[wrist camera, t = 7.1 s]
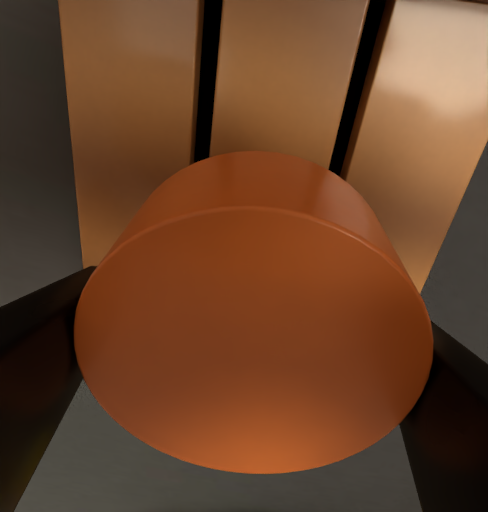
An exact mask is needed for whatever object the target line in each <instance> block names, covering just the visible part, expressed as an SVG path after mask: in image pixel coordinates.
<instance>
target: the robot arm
mask: <svg viewBox="0 0 488 512" xmlns="http://www.w3.org/2000/svg"><path fill="white" fill-rule="evenodd" d="M96 268H97V266H89V267H87V268H85V269H83V270H80V271H78V272H76V273H74V274H72V275H69V276H67V277H65V278H63V279H61V280H59V281H56V282H54V283H52V284H50V285H48V286H45V287H43V288H41V289H39V290H37V291H35V292H32V293H30V294H28V295H26V296H24V297H21V298H19V299H17V300H15V301H13V302H10V303H8V304H6V305H4V306H2V307H0V512H14V510H15V508H16V506H17V504H18V502H19V500H20V498H21V497H22V495H23V493H24V491H25V489H26V487H27V485H28V483H29V481H30V479H31V477H32V475H33V474H34V472H35V470H36V468H37V466H38V464H39V462H40V460H41V458H42V456H43V454H44V452H45V451H46V449H47V447H48V445H49V443H50V441H51V439H52V437H53V435H54V433H55V431H56V429H57V428H58V426H59V424H60V422H61V420H62V418H63V416H64V414H65V412H66V410H67V408H68V406H69V405H70V403H71V401H72V399H73V397H74V395H75V393H76V391H77V389H78V387H79V385H80V383H81V382H82V380H83V376H82V373H81V371H80V368H79V365H78V362H77V358H76V353H75V348H74V320H75V313H76V308H77V305H78V302H79V299H80V296H81V293H82V291H83V289H84V287H85V285H86V283H87V282H88V280H89V278H90V276H91V274H92V273H93V272H94V270H95V269H96ZM431 327H432V334H433V360H432V365H431V369H430V373H429V378H428V380H427V383H426V385H425V387H424V390H423V392H422V394H421V396H420V398H419V399H418V401H417V402H416V404H415V405H414V407H413V409H412V410H411V411H410V412H409V413H408V415H407V416H406V417H405V418H404V419H403V420H402V422H401V423H400V424H399V425H400V429H401V432H402V436H403V440H404V444H405V447H406V451H407V455H408V459H409V463H410V466H411V470H412V474H413V478H414V481H415V485H416V489H417V493H418V496H419V500H420V504H421V508H422V512H488V364H487V363H486V362H484V361H483V360H482V359H480V358H479V357H478V356H476V355H475V354H474V353H472V352H471V351H470V350H468V349H467V348H466V347H465V346H463V345H462V344H461V343H459V342H458V341H457V340H455V339H454V338H453V337H451V336H450V335H449V334H447V333H446V332H445V331H444V330H442V329H441V328H440V327H438V326H437V325H436V324H434V323H433V322H432V321H431Z"/></svg>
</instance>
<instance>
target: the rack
mask: <svg viewBox="0 0 488 512" xmlns="http://www.w3.org/2000/svg"><path fill="white" fill-rule="evenodd" d="M370 1H376V2H383V3H385V7H384V10H383V14H382V18H381V22H380V26H379V29H378V33H377V37H376V41H375V44H374V48H373V52H372V56H371V60H370V63H369V67H368V71H367V75H366V79H365V82H364V86H363V90H362V94H361V98H360V101H359V105H358V109H357V113H356V117H355V120H354V124H353V128H352V132H351V136H350V139H349V143H348V147H347V151H346V154H345V158H344V162H343V166H342V170H341V173H340V178H342V179H343V180H344V181H346V182H347V183H349V184H350V185H351V186H352V187H353V188H354V189H355V190H356V191H357V192H358V193H359V194H360V195H361V196H362V197H363V198H364V200H365V201H366V202H367V203H368V205H369V206H370V207H371V209H372V210H373V212H374V213H375V215H376V217H377V219H378V221H379V222H380V224H381V226H382V228H383V229H384V231H385V233H386V235H387V237H388V238H389V240H390V242H391V244H392V245H393V247H394V249H395V251H396V253H397V254H398V256H399V258H400V260H401V262H402V263H403V265H404V267H405V269H406V270H407V272H408V274H409V276H410V278H411V279H412V281H413V283H414V285H415V287H416V288H417V290H418V292H419V294H420V292H421V290H422V288H423V286H424V283H425V281H426V279H427V276H428V274H429V272H430V270H431V267H432V265H433V263H434V261H435V258H436V256H437V254H438V252H439V249H440V247H441V245H442V243H443V240H444V238H445V236H446V233H447V231H448V229H449V227H450V224H451V222H452V220H453V218H454V215H455V213H456V211H457V209H458V206H459V204H460V202H461V200H462V197H463V195H464V193H465V190H466V188H467V186H468V184H469V181H470V179H471V177H472V175H473V172H474V170H475V168H476V166H477V163H478V161H479V159H480V157H481V154H482V152H483V150H484V147H485V145H486V143H487V141H488V0H223V2H222V14H221V26H220V37H219V49H218V61H217V73H216V84H215V96H214V108H213V120H212V131H211V143H210V155H209V158H210V157H213V156H216V155H222V154H227V153H232V152H242V151H266V152H277V153H282V154H287V155H292V156H296V157H299V158H302V159H305V160H308V161H310V162H313V163H316V164H318V165H320V166H322V167H324V168H326V169H327V170H328V169H329V165H330V161H331V157H332V153H333V149H334V145H335V141H336V137H337V133H338V129H339V124H340V120H341V116H342V112H343V108H344V104H345V100H346V96H347V92H348V88H349V84H350V80H351V76H352V72H353V68H354V64H355V59H356V55H357V51H358V47H359V43H360V39H361V35H362V31H363V27H364V23H365V19H366V15H367V11H368V7H369V3H370ZM204 2H205V0H58V6H59V16H60V27H61V37H62V48H63V59H64V69H65V80H66V90H67V101H68V112H69V122H70V133H71V143H72V154H73V165H74V175H75V186H76V196H77V207H78V217H79V228H80V239H81V249H82V260H83V269H85V268H87V267H89V266H98V265H99V263H100V262H101V261H102V259H103V258H104V257H105V255H106V254H107V253H108V251H109V250H110V248H111V247H112V246H113V244H114V243H115V242H116V240H117V239H118V238H119V236H120V235H121V233H122V232H123V231H124V229H125V228H126V227H127V225H128V224H129V223H130V221H131V220H132V218H133V217H134V216H135V214H136V213H137V212H138V210H139V209H140V208H141V206H142V205H143V204H144V202H145V201H146V200H147V199H148V197H149V196H150V195H151V194H152V192H153V191H154V190H156V189H157V188H158V187H159V186H160V185H161V184H162V183H163V182H164V181H165V180H167V179H168V178H170V177H171V176H173V175H174V174H175V173H177V172H178V171H180V170H182V169H184V168H186V167H188V166H190V165H192V164H194V155H195V140H196V124H197V109H198V94H199V79H200V63H201V48H202V33H203V18H204Z"/></svg>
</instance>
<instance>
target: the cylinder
mask: <svg viewBox="0 0 488 512" xmlns="http://www.w3.org/2000/svg"><path fill="white" fill-rule="evenodd" d="M74 348H75V353H76V358H77V362H78V365H79V368H80V371H81V373H82V376H83V378H84V380H85V382H86V384H87V386H88V387H89V389H90V391H91V393H92V394H93V396H94V397H95V398H96V400H97V401H98V402H99V404H100V405H101V406H102V408H103V409H104V410H105V411H106V412H107V413H108V414H109V415H110V416H111V417H112V418H113V419H114V420H115V421H116V422H117V423H118V424H120V425H121V426H122V427H123V428H124V429H126V430H127V431H128V432H129V433H131V434H132V435H134V436H135V437H137V438H138V439H140V440H141V441H143V442H144V443H146V444H148V445H150V446H152V447H154V448H155V449H157V450H159V451H161V452H164V453H166V454H168V455H170V456H173V457H175V458H178V459H181V460H184V461H186V462H189V463H192V464H196V465H200V466H204V467H208V468H212V469H217V470H223V471H229V472H238V473H251V474H272V473H287V472H294V471H302V470H307V469H312V468H316V467H320V466H324V465H327V464H330V463H334V462H337V461H340V460H342V459H345V458H347V457H349V456H352V455H354V454H356V453H358V452H360V451H362V450H364V449H366V448H367V447H369V446H371V445H373V444H374V443H376V442H377V441H379V440H380V439H382V438H383V437H384V436H386V435H387V434H388V433H390V432H391V431H392V430H393V429H394V428H395V427H396V426H397V425H398V424H400V423H401V422H402V420H403V419H404V418H405V417H406V416H407V415H408V413H409V412H410V411H411V410H412V409H413V407H414V405H415V404H416V402H417V401H418V399H419V398H420V396H421V394H422V392H423V390H424V387H425V385H426V383H427V380H428V378H429V373H430V369H431V365H432V360H433V334H432V327H431V321H430V318H429V315H428V312H427V309H426V306H425V303H424V301H423V299H422V297H421V296H420V294H419V292H418V290H417V288H416V287H415V285H414V283H413V281H412V279H411V278H410V276H409V274H408V272H407V270H406V269H405V267H404V265H403V263H402V262H401V260H400V258H399V256H398V254H397V253H396V251H395V249H394V247H393V245H392V244H391V242H390V240H389V238H388V237H387V235H386V233H385V231H384V229H383V228H382V226H381V224H380V222H379V221H378V219H377V217H376V215H375V213H374V212H373V210H372V209H371V207H370V206H369V205H368V203H367V202H366V201H365V200H364V198H363V197H362V196H361V195H360V194H359V193H358V192H357V191H356V190H355V189H354V188H353V187H352V186H351V185H350V184H349V183H347V182H346V181H344V180H343V179H342V178H340V177H339V176H337V175H336V174H335V173H333V172H331V171H329V170H327V169H326V168H324V167H322V166H320V165H318V164H316V163H313V162H310V161H308V160H305V159H302V158H299V157H296V156H292V155H287V154H282V153H277V152H266V151H242V152H232V153H227V154H222V155H216V156H213V157H210V158H207V159H204V160H201V161H198V162H196V163H194V164H192V165H190V166H188V167H186V168H184V169H182V170H180V171H178V172H177V173H175V174H174V175H173V176H171V177H170V178H168V179H167V180H165V181H164V182H163V183H162V184H161V185H160V186H159V187H158V188H157V189H156V190H154V191H153V192H152V194H151V195H150V196H149V197H148V199H147V200H146V201H145V202H144V204H143V205H142V206H141V208H140V209H139V210H138V212H137V213H136V214H135V216H134V217H133V218H132V220H131V221H130V223H129V224H128V225H127V227H126V228H125V229H124V231H123V232H122V233H121V235H120V236H119V238H118V239H117V240H116V242H115V243H114V244H113V246H112V247H111V248H110V250H109V251H108V253H107V254H106V255H105V257H104V258H103V259H102V261H101V262H100V263H99V265H98V266H97V268H96V269H95V270H94V272H93V273H92V274H91V276H90V278H89V280H88V282H87V283H86V285H85V287H84V289H83V291H82V293H81V296H80V299H79V302H78V305H77V308H76V313H75V320H74Z"/></svg>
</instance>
